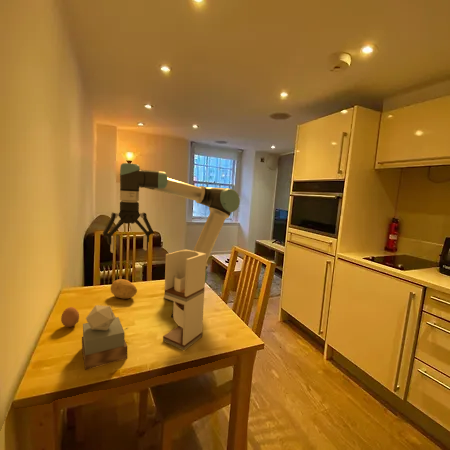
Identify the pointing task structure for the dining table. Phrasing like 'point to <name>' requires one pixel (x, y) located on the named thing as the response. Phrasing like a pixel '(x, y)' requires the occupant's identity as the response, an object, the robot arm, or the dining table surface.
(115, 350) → the block
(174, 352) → the dining table surface
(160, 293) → the dining table surface
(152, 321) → the dining table surface
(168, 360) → the dining table surface
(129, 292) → the potato
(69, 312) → the egg
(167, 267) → the display case
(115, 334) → the block
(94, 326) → the die
